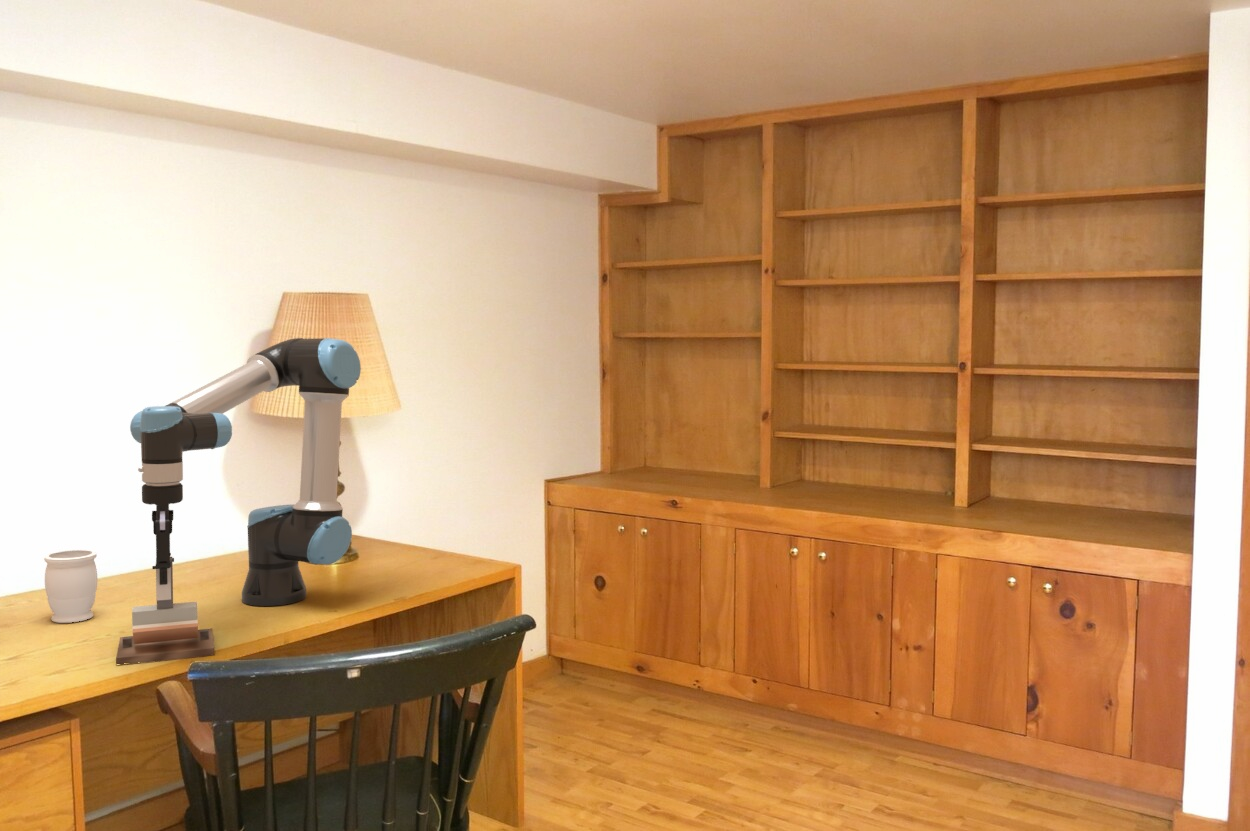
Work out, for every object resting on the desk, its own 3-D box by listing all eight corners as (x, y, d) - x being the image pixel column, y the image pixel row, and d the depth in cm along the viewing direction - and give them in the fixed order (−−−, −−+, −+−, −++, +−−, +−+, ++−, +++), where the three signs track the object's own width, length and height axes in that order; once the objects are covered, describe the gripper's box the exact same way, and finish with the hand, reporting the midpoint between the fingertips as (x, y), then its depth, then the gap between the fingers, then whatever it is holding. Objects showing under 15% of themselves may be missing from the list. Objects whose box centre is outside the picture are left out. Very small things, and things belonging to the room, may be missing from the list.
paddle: (196, 615, 212) (196, 554, 210) (197, 621, 208) (196, 558, 207) (133, 621, 207) (131, 558, 206) (132, 626, 203) (131, 563, 202)
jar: (106, 612, 238) (105, 549, 237) (84, 625, 228) (82, 559, 226) (60, 612, 238) (58, 549, 236) (36, 625, 227) (34, 559, 226)
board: (212, 635, 221) (212, 620, 221) (214, 655, 208) (214, 639, 207) (120, 644, 214) (119, 628, 214) (116, 665, 200) (115, 649, 200)
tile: (197, 619, 208) (197, 626, 207) (197, 631, 213) (197, 637, 213) (132, 625, 203) (132, 632, 202) (134, 637, 208) (134, 644, 208)
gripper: (143, 478, 211) (144, 589, 213) (140, 489, 196) (142, 608, 198) (182, 476, 214) (183, 586, 216) (182, 488, 199) (184, 605, 201)
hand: (163, 596), depth 207 cm, fingers closed on paddle, 3 cm apart
